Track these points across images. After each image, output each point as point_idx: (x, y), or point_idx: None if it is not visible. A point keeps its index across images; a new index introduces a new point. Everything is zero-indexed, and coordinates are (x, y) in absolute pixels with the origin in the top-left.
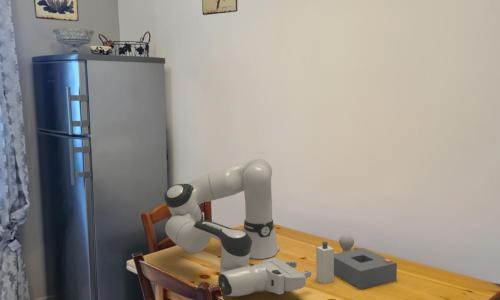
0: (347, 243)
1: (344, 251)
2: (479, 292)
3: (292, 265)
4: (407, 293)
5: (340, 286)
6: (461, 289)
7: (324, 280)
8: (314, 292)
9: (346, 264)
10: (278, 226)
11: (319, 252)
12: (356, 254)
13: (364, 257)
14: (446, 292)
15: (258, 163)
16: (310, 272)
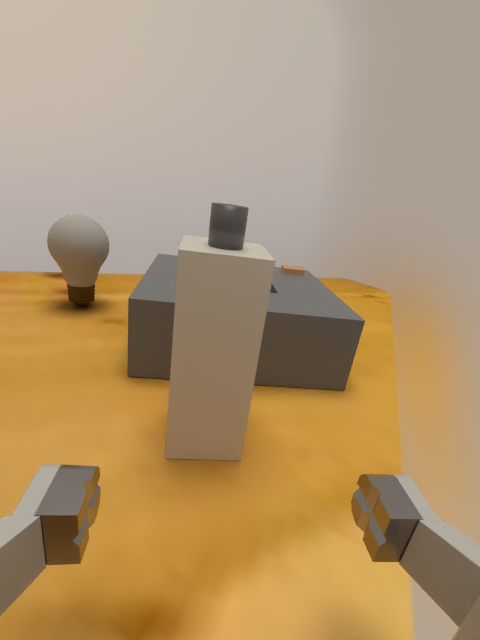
0: (100, 247)
1: (82, 281)
2: (377, 294)
3: (73, 534)
4: (380, 339)
5: (296, 420)
6: (363, 297)
7: (243, 439)
8: (354, 582)
9: (270, 314)
10: None
11: (220, 283)
12: None
13: None
14: (376, 309)
15: None
16: (408, 483)
